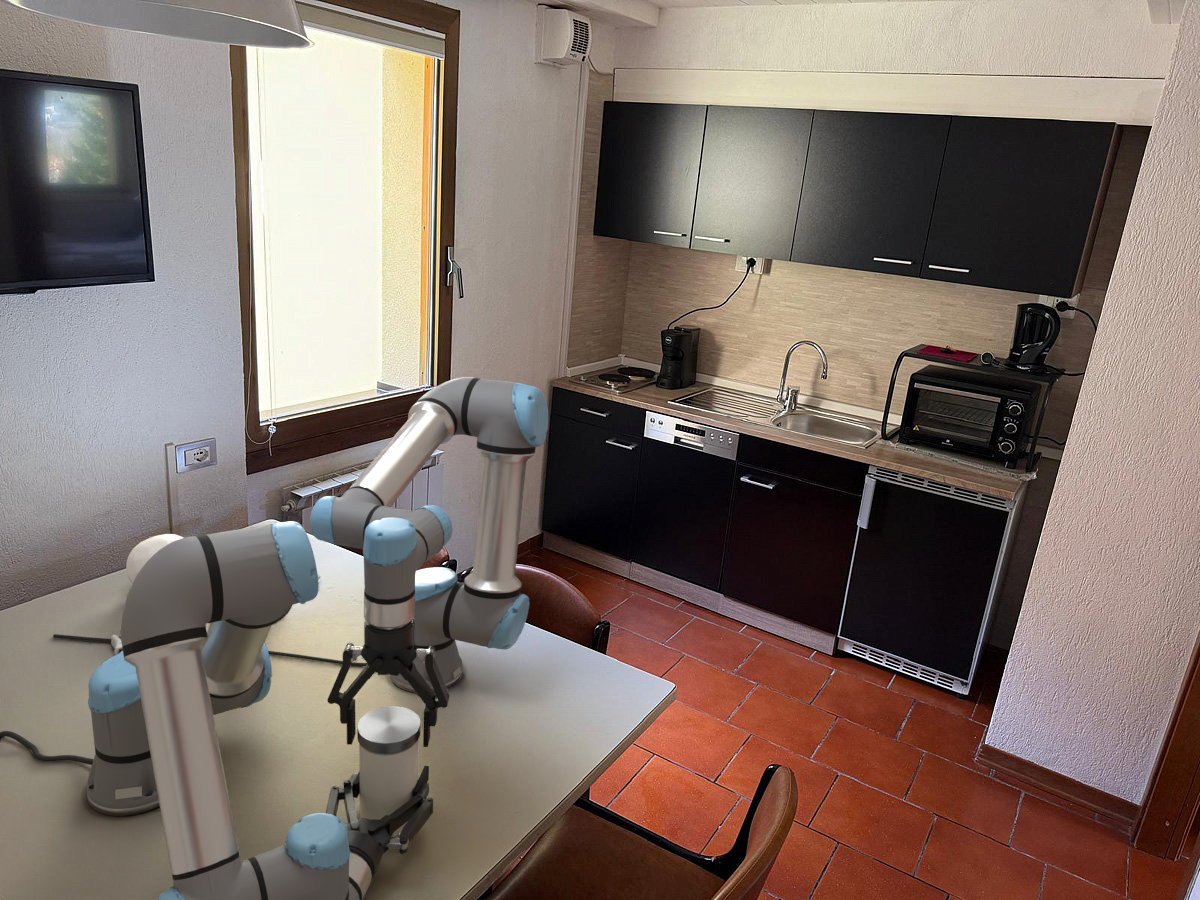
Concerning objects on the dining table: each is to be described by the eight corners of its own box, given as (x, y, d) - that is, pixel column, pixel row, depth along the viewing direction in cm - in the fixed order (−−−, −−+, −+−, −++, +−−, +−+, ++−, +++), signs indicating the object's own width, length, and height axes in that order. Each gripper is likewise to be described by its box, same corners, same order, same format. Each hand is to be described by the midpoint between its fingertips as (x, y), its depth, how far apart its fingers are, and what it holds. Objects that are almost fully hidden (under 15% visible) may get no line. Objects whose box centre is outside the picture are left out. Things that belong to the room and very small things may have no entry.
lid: (368, 713, 141) (368, 703, 141) (427, 719, 141) (427, 709, 140) (348, 750, 132) (348, 740, 131) (411, 757, 132) (411, 746, 131)
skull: (191, 620, 195) (189, 556, 191) (114, 601, 201) (110, 538, 197) (232, 597, 208) (230, 537, 203) (157, 580, 213) (154, 520, 209)
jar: (377, 846, 135) (377, 753, 130) (349, 813, 141) (348, 724, 136) (427, 821, 141) (429, 731, 136) (399, 791, 147) (400, 704, 142)
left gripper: (274, 880, 124) (334, 779, 145) (422, 901, 123) (461, 795, 144) (272, 838, 122) (334, 741, 143) (423, 858, 120) (462, 758, 142)
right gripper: (469, 610, 135) (465, 728, 141) (317, 603, 133) (320, 723, 139) (465, 634, 128) (460, 758, 134) (303, 627, 126) (307, 753, 132)
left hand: (397, 768), depth 144 cm, fingers closed on jar, 9 cm apart
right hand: (389, 740), depth 137 cm, fingers open, 11 cm apart
